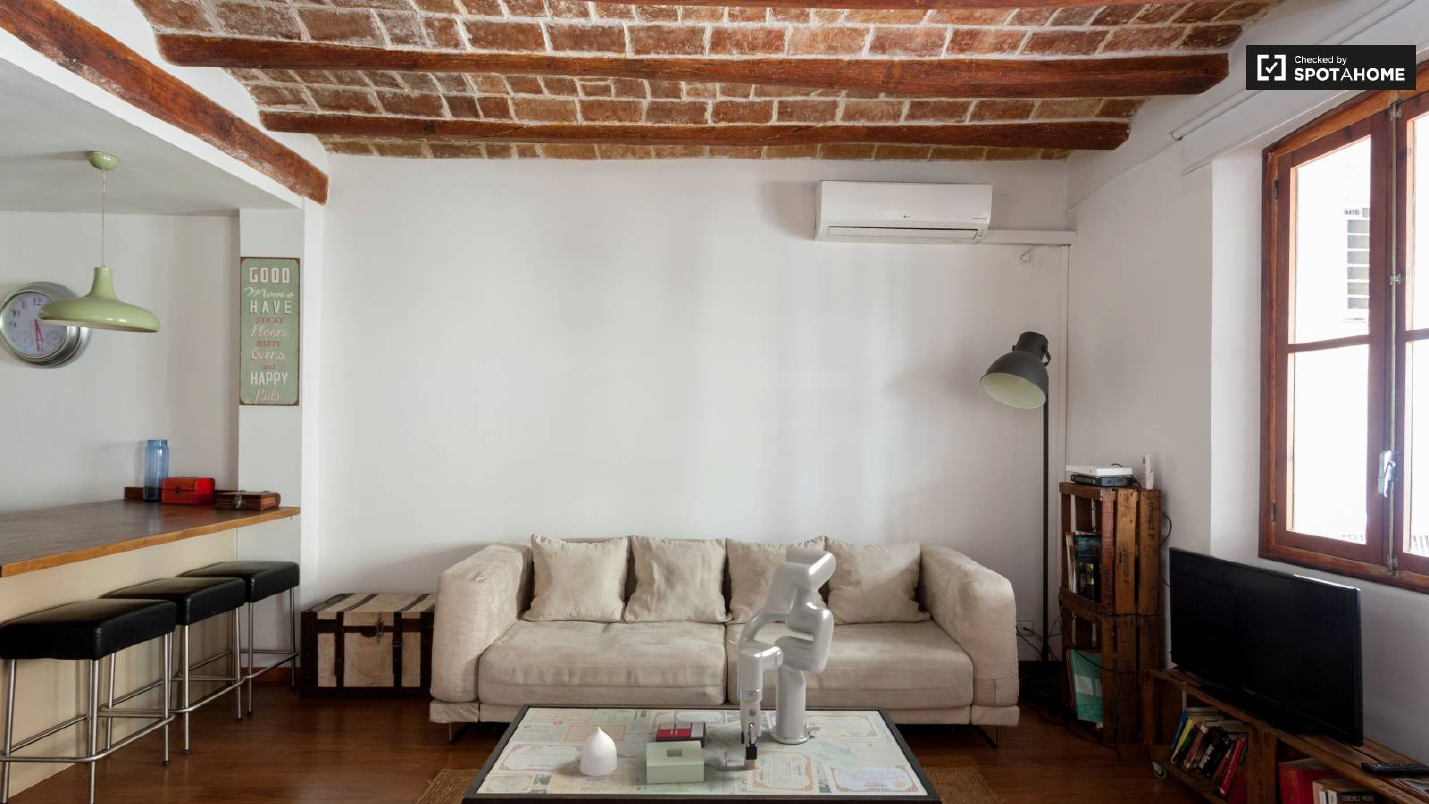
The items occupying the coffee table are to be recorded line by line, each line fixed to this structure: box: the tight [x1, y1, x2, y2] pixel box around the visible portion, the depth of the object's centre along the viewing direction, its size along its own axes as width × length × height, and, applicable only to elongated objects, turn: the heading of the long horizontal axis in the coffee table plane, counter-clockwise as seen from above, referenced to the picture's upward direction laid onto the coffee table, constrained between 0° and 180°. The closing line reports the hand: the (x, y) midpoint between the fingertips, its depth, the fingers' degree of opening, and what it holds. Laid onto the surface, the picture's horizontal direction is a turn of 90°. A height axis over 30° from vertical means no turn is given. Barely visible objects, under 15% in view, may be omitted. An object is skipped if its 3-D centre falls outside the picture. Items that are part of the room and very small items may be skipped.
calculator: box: [655, 721, 707, 749], centre depth 231 cm, size 11×4×15 cm
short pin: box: [716, 748, 729, 772], centre depth 213 cm, size 3×3×5 cm
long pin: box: [743, 733, 756, 771], centre depth 214 cm, size 3×3×11 cm
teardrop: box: [579, 726, 618, 777], centre depth 214 cm, size 11×11×12 cm
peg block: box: [646, 741, 705, 785], centre depth 212 cm, size 16×14×5 cm
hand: (748, 751), depth 214 cm, fingers open, 9 cm apart
